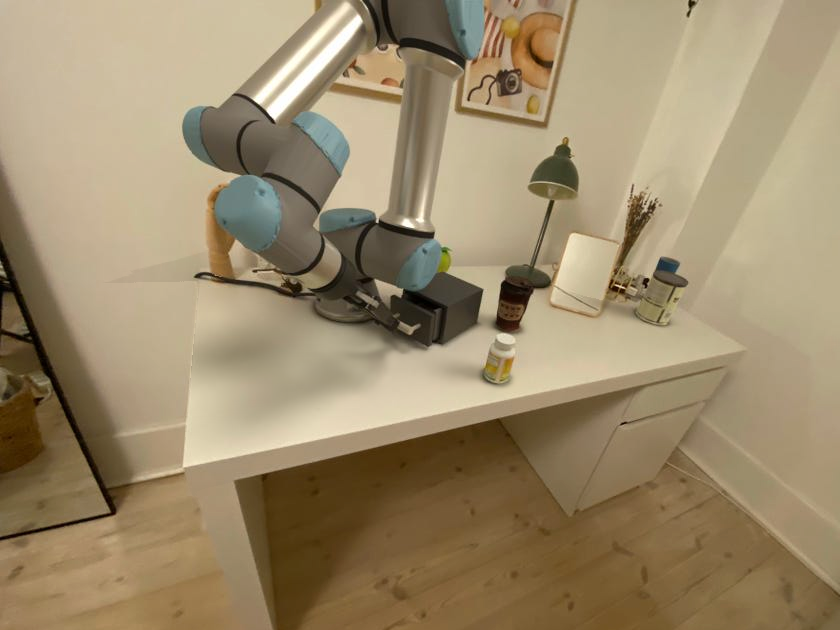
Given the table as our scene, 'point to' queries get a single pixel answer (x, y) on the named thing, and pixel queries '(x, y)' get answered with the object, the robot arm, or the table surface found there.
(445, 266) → the fruit
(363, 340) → the table surface
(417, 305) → the block
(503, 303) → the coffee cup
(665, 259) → the cup
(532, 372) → the table surface
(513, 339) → the supplement bottle
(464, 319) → the cabinet
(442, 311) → the drawer
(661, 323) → the coffee can
